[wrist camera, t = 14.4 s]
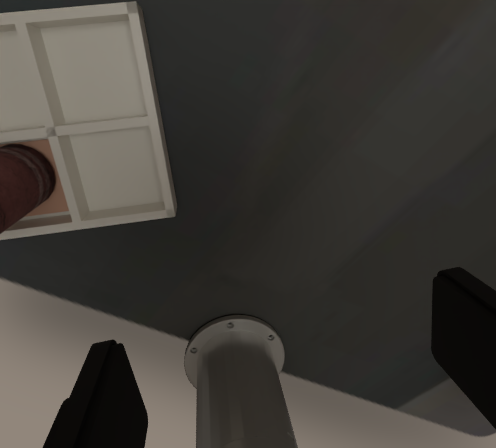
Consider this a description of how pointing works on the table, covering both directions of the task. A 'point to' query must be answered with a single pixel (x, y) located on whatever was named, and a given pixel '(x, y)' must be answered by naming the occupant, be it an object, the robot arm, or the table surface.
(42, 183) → the can
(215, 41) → the table surface
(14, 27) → the divided tray
